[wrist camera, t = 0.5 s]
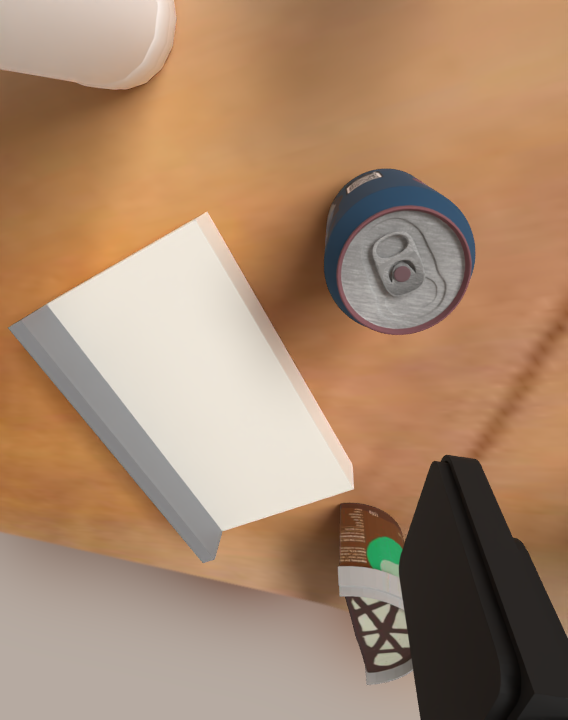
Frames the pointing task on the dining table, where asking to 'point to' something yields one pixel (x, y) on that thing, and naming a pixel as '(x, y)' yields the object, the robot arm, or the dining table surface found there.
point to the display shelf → (189, 386)
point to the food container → (374, 590)
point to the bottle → (87, 40)
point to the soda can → (396, 253)
